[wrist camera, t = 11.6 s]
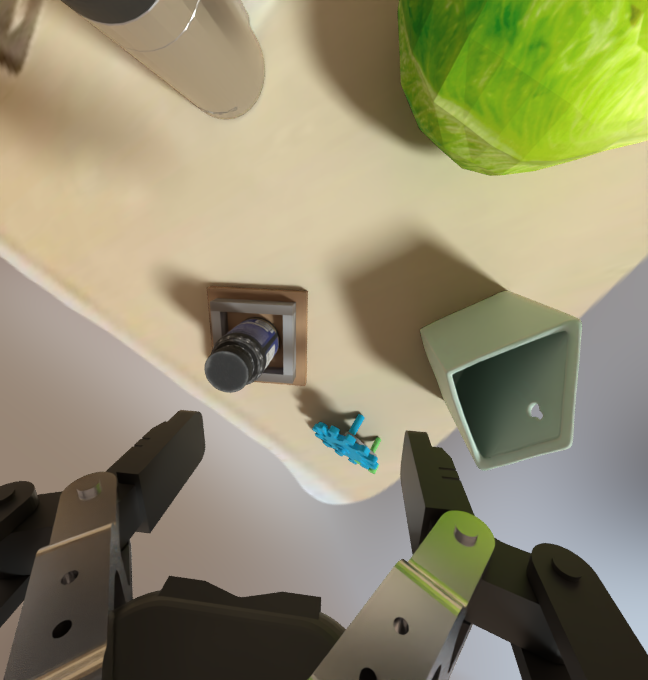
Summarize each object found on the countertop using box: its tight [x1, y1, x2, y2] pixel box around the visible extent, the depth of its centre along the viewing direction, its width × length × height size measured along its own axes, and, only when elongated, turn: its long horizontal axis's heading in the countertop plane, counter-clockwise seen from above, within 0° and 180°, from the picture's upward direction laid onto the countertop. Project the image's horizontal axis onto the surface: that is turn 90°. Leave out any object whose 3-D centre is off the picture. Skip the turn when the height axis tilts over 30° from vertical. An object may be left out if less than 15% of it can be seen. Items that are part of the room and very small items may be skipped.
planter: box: [420, 291, 582, 471], centre depth 32 cm, size 16×8×20 cm, turn 161°
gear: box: [312, 414, 381, 474], centre depth 44 cm, size 11×6×10 cm
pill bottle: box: [205, 317, 280, 393], centre depth 37 cm, size 6×6×11 cm
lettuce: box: [398, 0, 648, 176], centre depth 24 cm, size 19×25×17 cm
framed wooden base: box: [207, 286, 308, 386], centre depth 42 cm, size 13×13×3 cm
